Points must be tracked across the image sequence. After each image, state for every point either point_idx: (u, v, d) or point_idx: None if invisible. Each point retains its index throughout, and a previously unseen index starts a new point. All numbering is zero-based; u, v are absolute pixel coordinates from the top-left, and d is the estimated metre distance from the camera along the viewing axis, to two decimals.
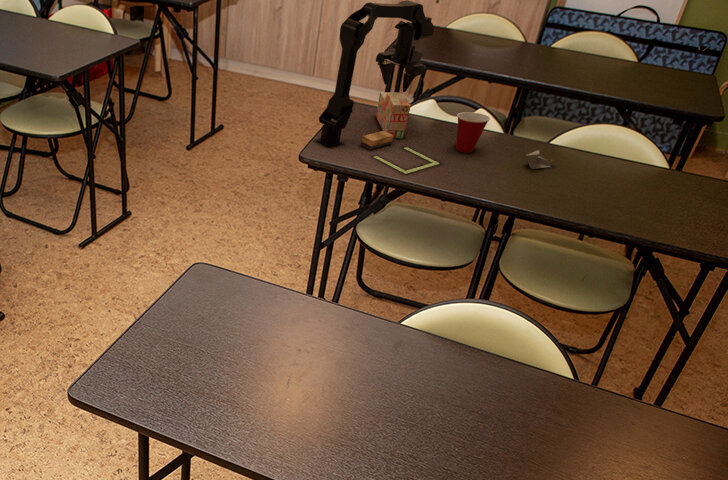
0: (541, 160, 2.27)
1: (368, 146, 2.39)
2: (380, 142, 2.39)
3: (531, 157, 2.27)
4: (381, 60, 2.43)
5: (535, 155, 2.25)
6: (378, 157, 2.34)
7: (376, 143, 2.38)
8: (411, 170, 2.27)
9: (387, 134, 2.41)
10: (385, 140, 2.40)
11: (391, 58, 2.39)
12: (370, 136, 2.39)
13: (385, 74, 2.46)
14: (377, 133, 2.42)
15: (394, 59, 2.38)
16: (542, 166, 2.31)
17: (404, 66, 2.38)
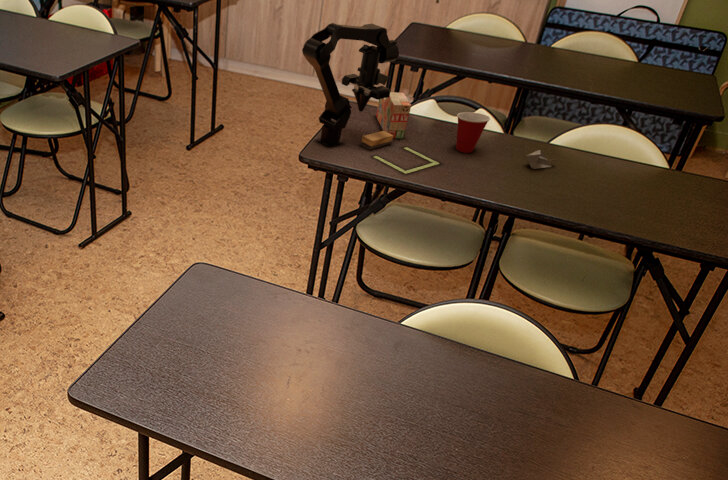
0: (542, 160, 2.28)
1: (368, 146, 2.39)
2: (380, 142, 2.39)
3: (532, 157, 2.27)
4: (347, 83, 2.40)
5: (536, 155, 2.25)
6: (378, 157, 2.34)
7: (376, 143, 2.38)
8: (411, 170, 2.27)
9: (387, 134, 2.41)
10: (385, 140, 2.40)
11: (356, 81, 2.37)
12: (370, 136, 2.39)
13: None
14: (377, 133, 2.42)
15: (359, 82, 2.36)
16: (543, 166, 2.31)
17: (360, 85, 2.39)
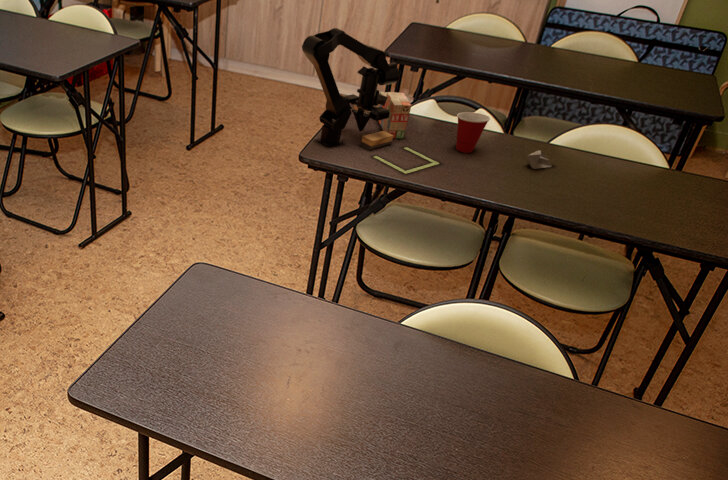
0: (542, 160, 2.28)
1: (368, 146, 2.39)
2: (380, 142, 2.39)
3: (532, 157, 2.27)
4: None
5: (536, 155, 2.25)
6: (378, 157, 2.34)
7: (376, 143, 2.38)
8: (411, 170, 2.27)
9: (387, 134, 2.41)
10: (385, 140, 2.40)
11: (356, 102, 2.40)
12: (370, 136, 2.39)
13: None
14: (377, 133, 2.42)
15: (359, 103, 2.39)
16: (543, 166, 2.31)
17: (360, 106, 2.42)
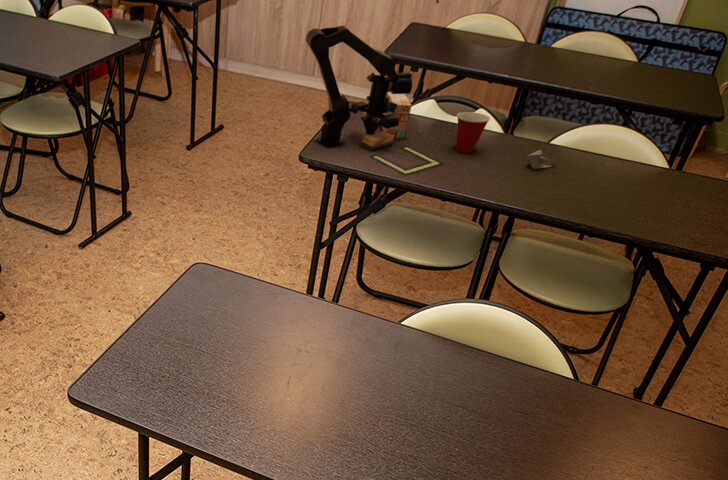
0: (543, 160, 2.28)
1: (369, 147, 2.39)
2: (381, 142, 2.39)
3: (533, 157, 2.27)
4: (355, 111, 2.41)
5: (537, 155, 2.25)
6: (378, 157, 2.34)
7: (377, 143, 2.38)
8: (411, 170, 2.27)
9: (388, 134, 2.41)
10: (386, 141, 2.40)
11: (365, 109, 2.37)
12: (370, 137, 2.39)
13: (368, 128, 2.41)
14: (378, 133, 2.41)
15: (368, 111, 2.36)
16: (544, 166, 2.31)
17: (369, 113, 2.40)
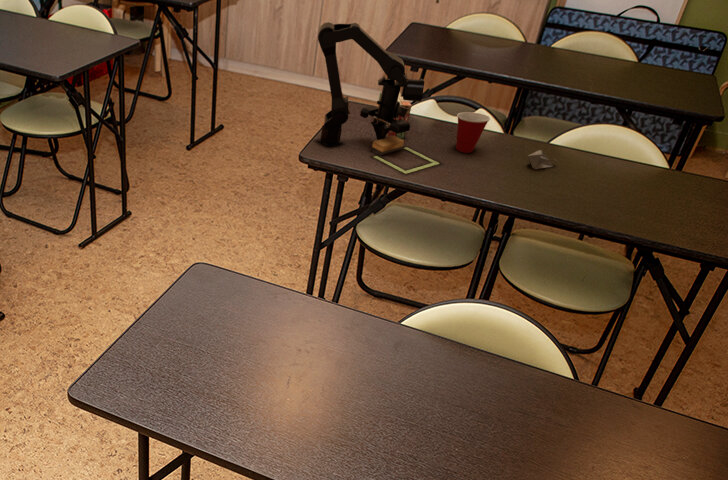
0: (543, 160, 2.28)
1: (379, 152, 2.36)
2: (391, 147, 2.36)
3: (533, 157, 2.27)
4: (365, 115, 2.38)
5: (538, 155, 2.25)
6: (378, 157, 2.34)
7: (387, 149, 2.35)
8: (411, 170, 2.27)
9: (398, 139, 2.38)
10: (396, 146, 2.37)
11: (375, 114, 2.34)
12: (381, 142, 2.36)
13: None
14: (388, 138, 2.38)
15: (378, 115, 2.33)
16: (544, 166, 2.31)
17: None
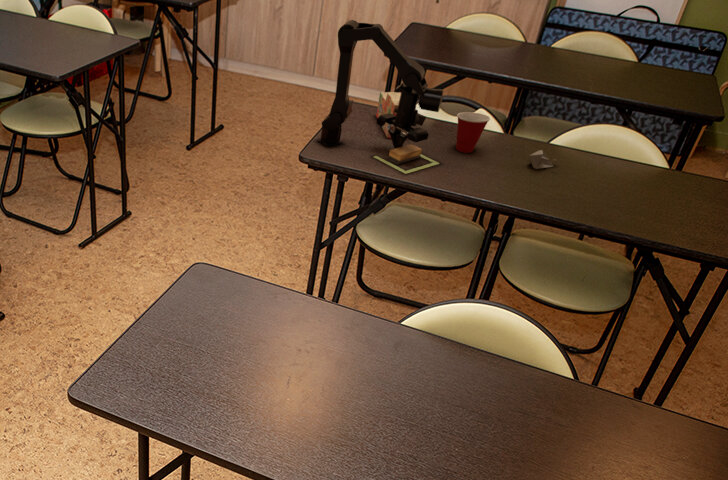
0: (544, 160, 2.28)
1: (396, 161, 2.30)
2: (408, 156, 2.30)
3: (534, 157, 2.27)
4: (382, 123, 2.32)
5: (538, 155, 2.25)
6: (378, 157, 2.34)
7: (404, 157, 2.30)
8: (411, 170, 2.27)
9: (415, 148, 2.32)
10: (413, 155, 2.31)
11: (393, 122, 2.29)
12: (398, 150, 2.30)
13: None
14: (405, 147, 2.33)
15: (396, 123, 2.28)
16: (545, 166, 2.31)
17: None
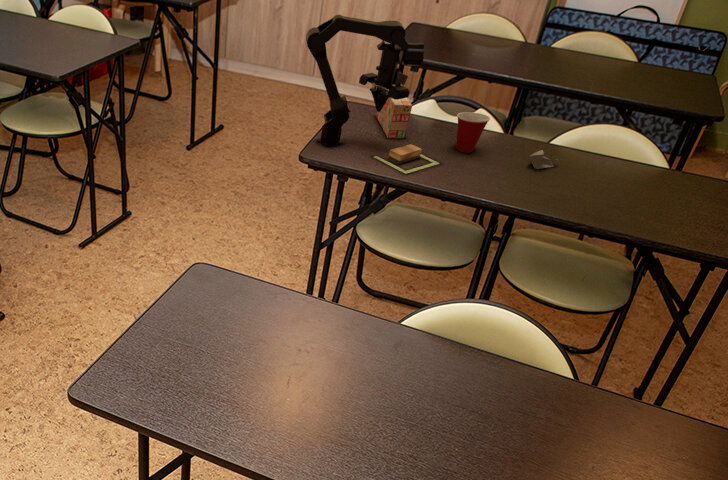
0: (545, 160, 2.28)
1: (396, 161, 2.30)
2: (408, 156, 2.30)
3: (535, 157, 2.27)
4: (364, 82, 2.32)
5: (539, 155, 2.25)
6: (378, 157, 2.34)
7: (404, 157, 2.30)
8: (411, 170, 2.27)
9: (415, 148, 2.32)
10: (413, 155, 2.31)
11: (374, 80, 2.29)
12: (398, 150, 2.30)
13: None
14: (405, 147, 2.33)
15: (377, 81, 2.28)
16: (545, 166, 2.31)
17: (379, 85, 2.31)
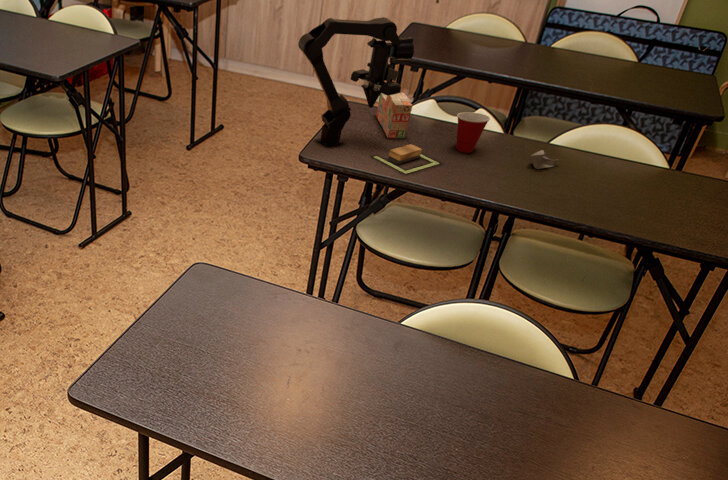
0: (545, 160, 2.28)
1: (396, 161, 2.30)
2: (408, 156, 2.30)
3: (536, 157, 2.27)
4: (356, 79, 2.35)
5: (540, 155, 2.25)
6: (378, 157, 2.34)
7: (404, 157, 2.30)
8: (411, 170, 2.27)
9: (415, 148, 2.32)
10: (413, 155, 2.31)
11: (366, 77, 2.31)
12: (398, 150, 2.30)
13: None
14: (405, 147, 2.33)
15: (369, 78, 2.30)
16: (546, 166, 2.31)
17: None
